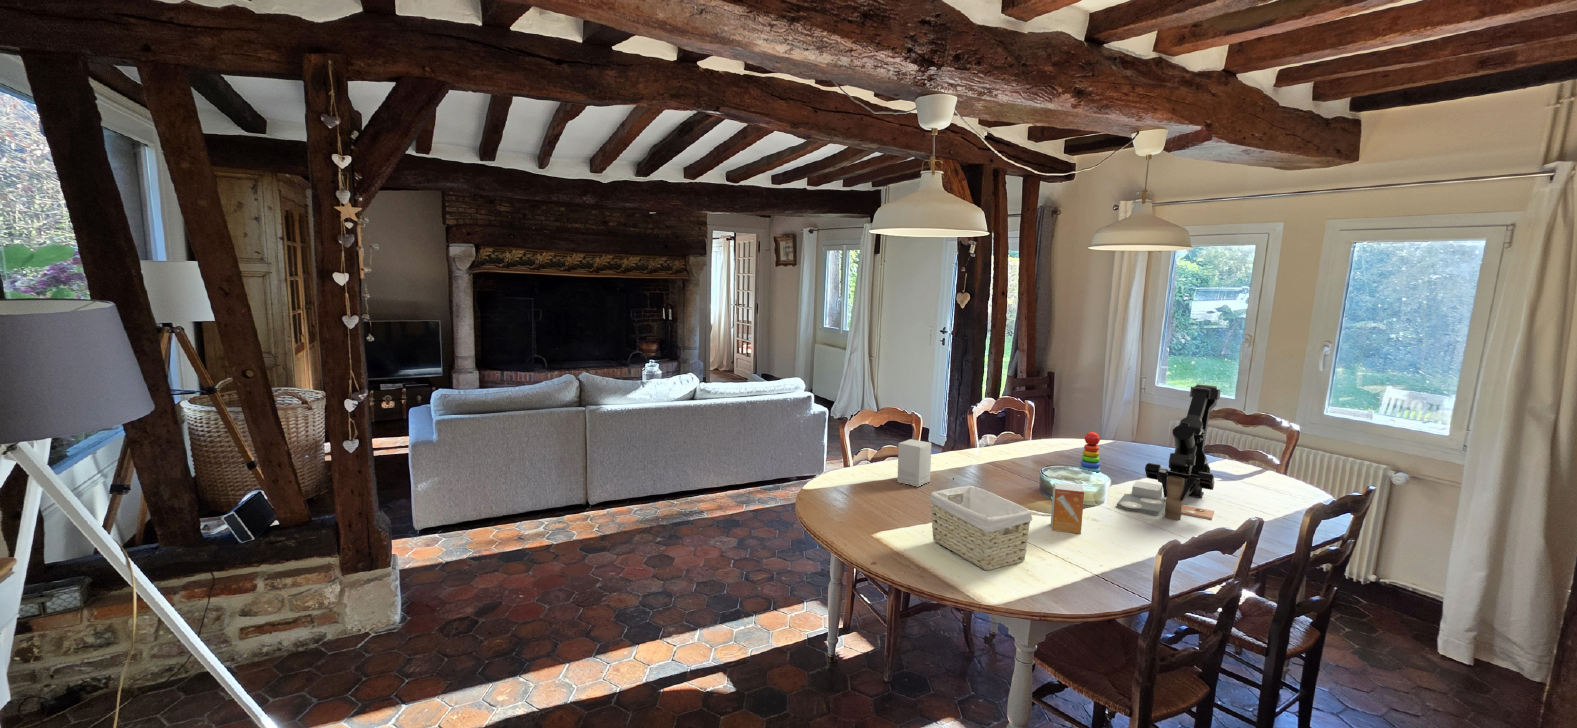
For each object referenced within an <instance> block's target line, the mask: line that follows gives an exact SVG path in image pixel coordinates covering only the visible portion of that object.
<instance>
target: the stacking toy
mask: <svg viewBox="0 0 1577 728" xmlns="http://www.w3.org/2000/svg"><path fill="white" fill-rule="evenodd" d="M1100 440H1101V437H1100V435H1099V434H1098V433H1097V432H1095V431H1090V432H1089V431H1088V432H1087V433H1086V434H1085V435H1084V441H1085V444H1084V446H1083V448H1084V450H1082V454H1083V455H1081V459H1082V460H1081V461H1080V466H1079V470H1080V469H1083V470H1088V471H1092V472H1096V473H1100V472H1101V468H1100V466H1101V463H1100V456H1099V455H1100V452H1099V450H1100V446H1099V443H1100Z"/></svg>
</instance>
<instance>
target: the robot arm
mask: <svg viewBox="0 0 1577 728" xmlns="http://www.w3.org/2000/svg"><path fill="white" fill-rule="evenodd" d="M1189 397H1190V398H1191V401H1190V403H1189V408H1188V411H1187V414H1186V416H1185V417H1183V418H1182V419H1181V420H1180V422H1179V424H1178V425H1176V426H1175V427H1174V428H1173V429H1172V437H1173V442H1174V446H1175V448H1174V453H1173V452H1170V454H1169V457H1168V468H1164V467H1161V464H1157V463H1153V462H1147V464H1145V467H1144V472H1145V477H1146V478H1147V479H1151V480H1156V481H1157V482H1158V483H1161V485H1162V486H1163V488H1162V494H1163V498H1165V499H1166V493H1167V482H1168V476H1178V477H1182V478H1184V487H1183V494H1182V498H1181V501H1182V502H1183V501H1185V499H1187V497H1194V498H1199V499H1201V498H1203V496H1204V493H1205V492H1204V491H1203V489H1205V490H1210V491H1212V490H1214V488H1215V476H1214V475H1213V473H1212V472H1211V467H1210V465H1209V463H1208V458H1207V456H1206V454H1205V452H1204V449H1205V445H1206V439H1207V438H1206V437H1207V433H1208V426H1209V419H1210V415H1211V411H1212V410H1213V409H1214V408H1215V407H1216V406H1217V404H1218V401H1219V400H1220V398H1221V389H1218V386H1217V385H1208V384H1198V383H1196V384H1195V386H1190V390H1189ZM1168 469H1169V470H1168Z"/></svg>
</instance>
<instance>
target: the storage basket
mask: <svg viewBox="0 0 1577 728" xmlns="http://www.w3.org/2000/svg"><path fill="white" fill-rule="evenodd" d="M959 497H960V500H961V502H960V503H958V504H957V503H956V502H953V501H951V500H949V499H954V498H959ZM929 502H930V510H931V520H932V521H931V523H932V524H931V525H932V526H931V528H932V531H931V532H932V539H933V541H935V542H936V543H937V544H938V545H941V546H942V547H944V548H946V549H948V550H950V551H952V552H954V554H956V555H957V556H960V557H961V558H963V560H964V559H965V561H968V562H969V563H972V564H974V565H976V566H977V567H979V568H981V569H982V570H985V571H991V570H994V569H999V568H1005V567H1007V566H1012V565H1014V564H1019V563H1021V562H1024V561H1025V560H1026V555H1027V554H1026V553H1027V547H1028V540H1029V534H1030V524H1031V521H1033V516H1032V511H1031V510H1029V509H1028V508H1026V507H1025V506H1022V505H1021V504H1018V503H1016V502H1014V501H1011V500H1009V499H1006V498H1004V497H1002V496H999V495H998V494H996V493H993V492H990V491H989V490H986V489H984V488H980V487H977V486H973V485H965V486H958V487H952V488H947V489H940V490H937V491H932V492H931V493H930V497H929Z"/></svg>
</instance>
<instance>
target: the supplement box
mask: <svg viewBox="0 0 1577 728" xmlns="http://www.w3.org/2000/svg"><path fill="white" fill-rule="evenodd" d="M897 448H898V451H897V452H898V453H897V454H898V455H897V482H898V481H899V482H902V483H908V484H911V485H914V486H921V485H923V484H924V483H927V482H929V481H930V482H931V463H932V442H929V441H923V440H917V439H913V438H910V439H906V440H904V441H901V442H898V446H897ZM927 484H928V483H927ZM923 486H924V485H923ZM921 487H922V486H921Z"/></svg>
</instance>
